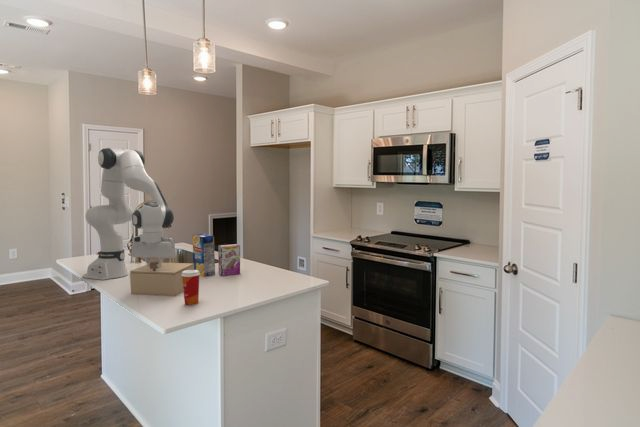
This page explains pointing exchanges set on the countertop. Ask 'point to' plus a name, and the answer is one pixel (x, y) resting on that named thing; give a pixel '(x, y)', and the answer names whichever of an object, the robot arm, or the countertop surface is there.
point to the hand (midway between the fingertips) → (154, 267)
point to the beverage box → (204, 254)
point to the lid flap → (162, 268)
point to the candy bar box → (229, 259)
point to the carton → (157, 283)
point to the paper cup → (191, 286)
